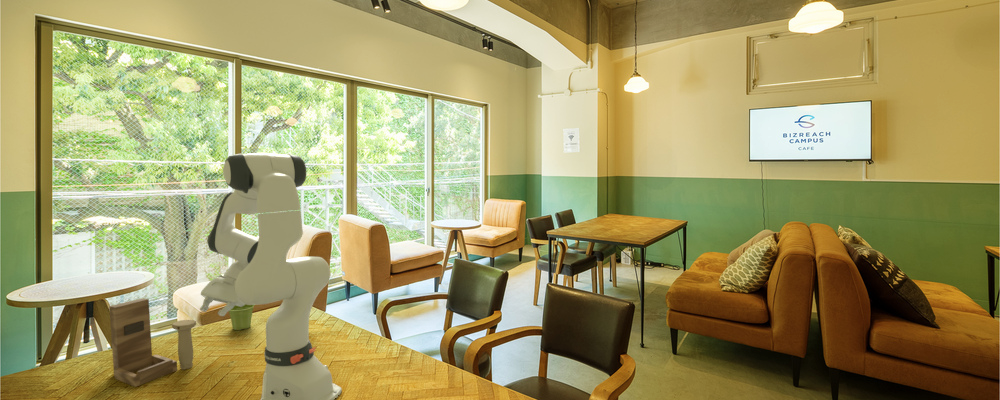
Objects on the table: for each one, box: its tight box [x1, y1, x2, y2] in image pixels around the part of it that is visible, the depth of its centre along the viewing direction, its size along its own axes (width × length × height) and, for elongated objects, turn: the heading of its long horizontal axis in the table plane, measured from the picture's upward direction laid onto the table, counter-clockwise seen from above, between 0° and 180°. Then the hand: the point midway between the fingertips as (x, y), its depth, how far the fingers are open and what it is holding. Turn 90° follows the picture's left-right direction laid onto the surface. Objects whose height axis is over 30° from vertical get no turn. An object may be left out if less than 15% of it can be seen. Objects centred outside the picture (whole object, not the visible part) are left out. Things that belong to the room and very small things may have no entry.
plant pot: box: [228, 304, 255, 331], centre depth 173 cm, size 9×9×9 cm
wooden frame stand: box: [108, 297, 178, 388], centre depth 135 cm, size 14×11×22 cm
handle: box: [171, 319, 197, 370], centre depth 139 cm, size 5×6×15 cm
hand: (211, 313), depth 146 cm, fingers open, 8 cm apart
